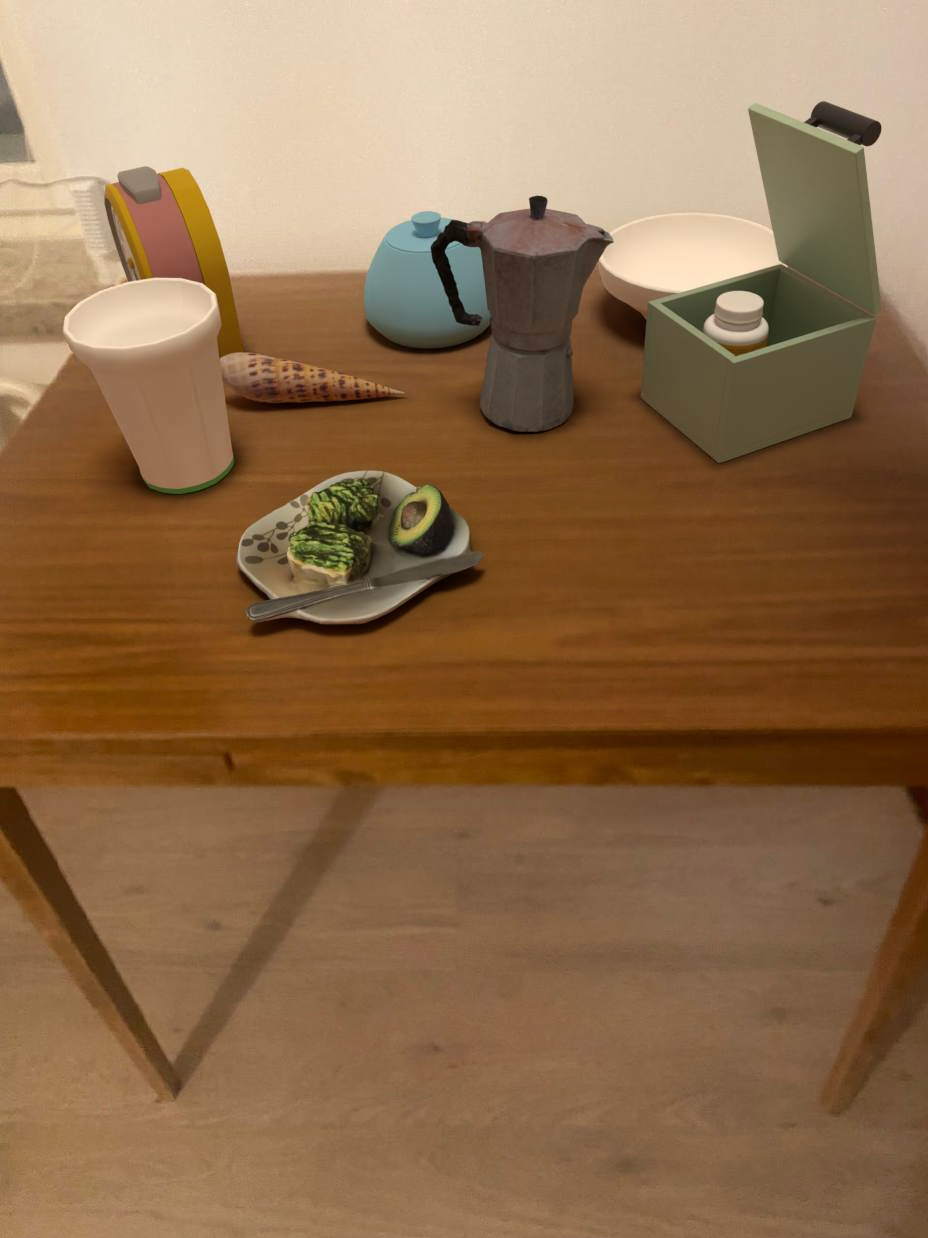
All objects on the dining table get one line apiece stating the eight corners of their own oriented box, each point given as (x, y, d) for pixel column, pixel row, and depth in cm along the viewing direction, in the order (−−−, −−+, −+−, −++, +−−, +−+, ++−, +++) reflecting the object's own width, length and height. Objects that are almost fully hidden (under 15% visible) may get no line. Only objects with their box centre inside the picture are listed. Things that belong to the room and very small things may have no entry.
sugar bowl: (422, 279, 114) (413, 178, 106) (529, 308, 107) (527, 202, 99) (338, 333, 106) (322, 227, 98) (448, 368, 99) (440, 257, 91)
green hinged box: (718, 463, 85) (734, 362, 78) (640, 397, 93) (647, 301, 86) (851, 417, 88) (877, 317, 82) (764, 358, 97) (781, 263, 90)
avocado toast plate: (317, 690, 68) (306, 644, 65) (184, 574, 78) (169, 530, 75) (511, 559, 77) (510, 513, 74) (370, 470, 87) (363, 426, 84)
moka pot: (609, 435, 89) (621, 215, 75) (441, 441, 89) (423, 225, 76) (600, 381, 96) (610, 170, 82) (444, 387, 96) (428, 180, 82)
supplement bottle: (768, 410, 89) (787, 305, 82) (718, 427, 87) (733, 321, 80) (730, 383, 92) (746, 280, 85) (681, 399, 91) (693, 295, 84)
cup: (92, 495, 86) (28, 338, 76) (168, 421, 95) (120, 270, 84) (212, 519, 83) (163, 357, 72) (280, 440, 91) (245, 284, 81)
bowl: (700, 381, 94) (708, 312, 89) (557, 317, 106) (558, 253, 101) (817, 311, 103) (831, 245, 98) (674, 259, 114) (680, 197, 109)
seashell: (231, 389, 98) (220, 344, 95) (408, 388, 97) (403, 342, 93) (220, 413, 95) (208, 367, 92) (403, 412, 93) (397, 365, 90)
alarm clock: (140, 327, 110) (87, 157, 97) (210, 308, 112) (167, 139, 99) (174, 385, 100) (119, 204, 87) (250, 363, 102) (208, 184, 89)
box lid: (855, 152, 70) (911, 111, 70) (747, 107, 78) (797, 70, 78) (874, 315, 81) (923, 280, 81) (778, 260, 90) (822, 228, 90)
